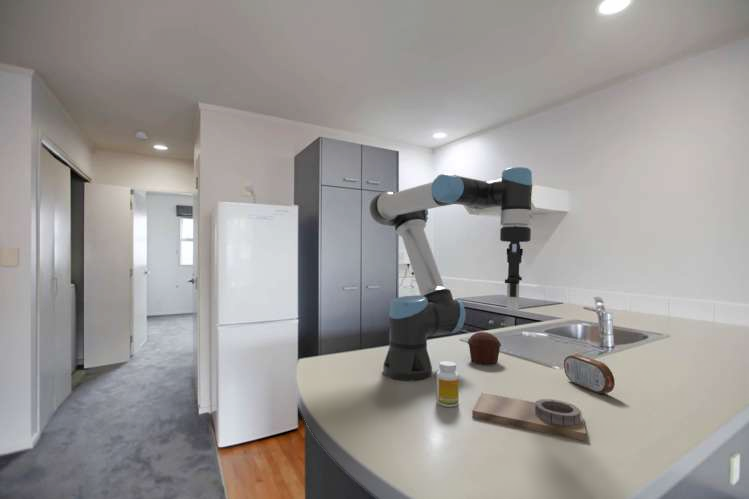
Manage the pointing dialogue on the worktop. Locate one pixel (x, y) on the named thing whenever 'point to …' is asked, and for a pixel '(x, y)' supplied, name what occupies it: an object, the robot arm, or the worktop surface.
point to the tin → (589, 373)
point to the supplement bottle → (447, 385)
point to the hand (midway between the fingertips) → (513, 306)
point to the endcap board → (532, 415)
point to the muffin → (484, 348)
